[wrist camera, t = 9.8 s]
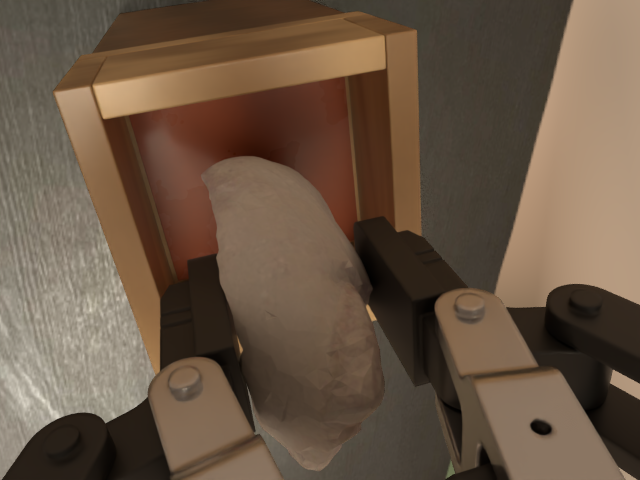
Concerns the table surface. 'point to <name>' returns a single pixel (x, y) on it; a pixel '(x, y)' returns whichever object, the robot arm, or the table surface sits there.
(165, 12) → the plinth
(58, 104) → the open wooden box
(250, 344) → the fossil
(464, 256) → the table surface
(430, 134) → the table surface
